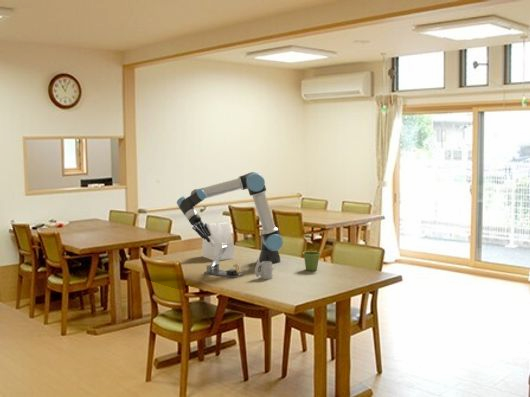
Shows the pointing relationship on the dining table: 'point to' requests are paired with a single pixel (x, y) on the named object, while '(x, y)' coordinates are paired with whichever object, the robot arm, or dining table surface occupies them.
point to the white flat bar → (218, 256)
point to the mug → (264, 269)
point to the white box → (218, 242)
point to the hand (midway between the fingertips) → (213, 245)
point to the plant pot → (311, 260)
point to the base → (228, 273)
